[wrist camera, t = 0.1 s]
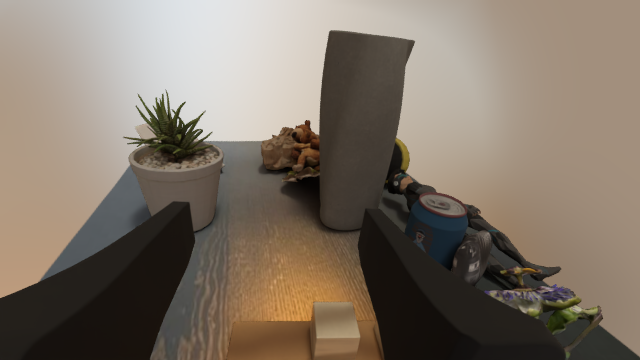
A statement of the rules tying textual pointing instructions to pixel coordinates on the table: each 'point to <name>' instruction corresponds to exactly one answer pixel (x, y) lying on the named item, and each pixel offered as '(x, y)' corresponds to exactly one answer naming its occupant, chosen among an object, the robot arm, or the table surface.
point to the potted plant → (177, 166)
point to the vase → (358, 122)
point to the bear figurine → (304, 154)
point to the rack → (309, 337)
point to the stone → (279, 150)
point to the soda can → (437, 226)
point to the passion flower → (548, 304)
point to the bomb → (398, 158)
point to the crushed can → (472, 257)
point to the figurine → (412, 193)
